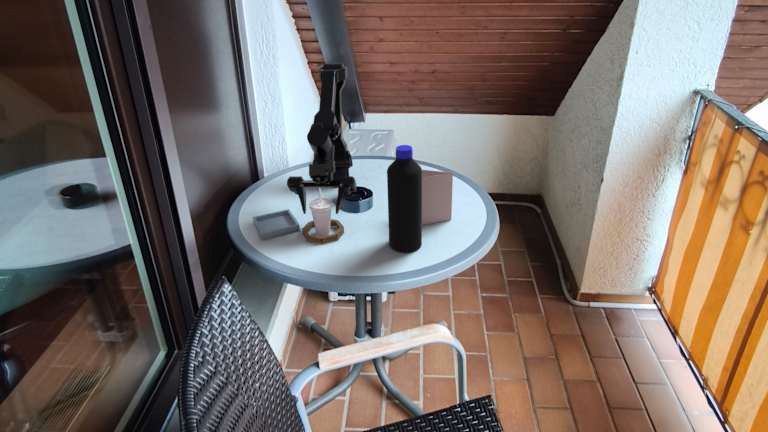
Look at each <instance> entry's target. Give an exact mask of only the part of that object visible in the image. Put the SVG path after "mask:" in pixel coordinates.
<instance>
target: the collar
mask: <svg viewBox="0 0 768 432" xmlns="http://www.w3.org/2000/svg"><path fill="white" fill-rule="evenodd" d="M330 227H334V228H336V229H337V230H336V232H334V233H330V234H329V235H327V236H323V237H320V236H318V235H312V234H310V231H311V230H312V229H316V228H315V224H314V220H310V221H308V222H307V223H306V224H305V225H304V226H303V227H302V228H301V231H302V232H301V233H302V236H303V237H304V239H305V240H306V242H307V243H310V244H311V243H312V244H317V245H325V244H329V243H334V242H337V241H339V240H340V239H341V237H342V236H343V235H344V234H345V227H344V225H343V224H342V223H341V221H340V220H338V219H334V218H333V219H332V218H331V223H330Z"/></svg>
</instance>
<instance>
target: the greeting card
mask: <svg viewBox="0 0 768 432" xmlns="http://www.w3.org/2000/svg"><path fill="white" fill-rule="evenodd" d="M453 175H454V172H449V171H437V170H428V169H422V226H424V225H430V224H435V223H441V222H447V221H451V220H452V212H453V211H452V210H453V209H452V208H453V185H454V184H453V177H454V176H453Z"/></svg>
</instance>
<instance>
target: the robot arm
mask: <svg viewBox="0 0 768 432" xmlns="http://www.w3.org/2000/svg"><path fill="white" fill-rule="evenodd" d="M322 65H323V66H320V67H318V79H319V81H320V82H321V87H320V95H319V96H320V99H319V109H318V111H317V112H316V114H315V115H314V116H313V123H312V124H311V125H310V128H309V130H308V133H307V135H306V140H307V143H308V144H309V146H310V148H311V150H312V152H313V159H312V163H309V164H308V176H309V178H310V180H304V178H303V177H302V176H301V175H300V176H296V175H295V176H289V177H288V178H287V179H286V180H287V181H286V187H288V189H289V191H291V192H293V193H294V194H295V195H297V196H298V198H299V202H300V205H301V206H300V207H301V209H302V213H303V214H304V215H306V212H307V192H306V188H337V196H336V197H337V198H336V205H335V214H336V215H337V214H339V212H340V209H341V208H342V206H343V203H344V202H345V200H346V198H347V197H348V196H349V195H351V194H352V193H356V192H357V182H356V179H355V177H354V176H353V175H352V176H351V175H350V170H349V169H350V168H351V167H353V166H354V164H353V158H352V154H351V152H350V150H348V144H347V142H346V140H345V139H344V137H343V112H342V111H343V107H342V92H343V89H344V87H345V85H346V84H347V79H348V77H349V76H348V74H349V73H348V72H349V71H348V66H345V65H344V62H326V63H325V62H324V63H323V64H322Z"/></svg>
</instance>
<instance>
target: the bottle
mask: <svg viewBox="0 0 768 432" xmlns="http://www.w3.org/2000/svg"><path fill="white" fill-rule="evenodd" d="M413 152H414V151H413V147H412V146H411V145H408V144H401V145H400V144H399V145H398V146H396V147H395V157H396V158H395V159H394V160H393V161H392V162H391V163H390V164H389V166H388V168H387V170H386V179H387V180H386V182H387V184H386V185H387V208H388V209H387V213H388V245H389V248H390V249H392V250H393V251H395V252H398V253H402V254H403V253H405V254H407V253H413V252H416V251H418V250H419V249H420V248H421V247H422V240H423V238H422V237H423V235H422V234H423V233H422V231H423V230H422V229H423V228H422V227H423V225H422V170H423V169H422V167H421V165H420V164H419V163H418V162H417V161H415V159H414V158H413V156H414V155H413Z"/></svg>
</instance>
